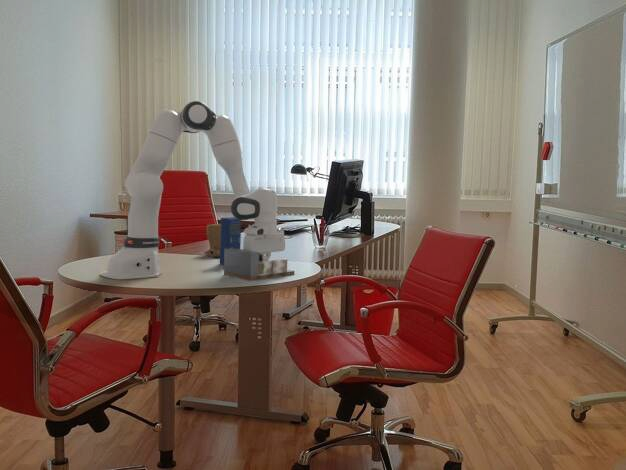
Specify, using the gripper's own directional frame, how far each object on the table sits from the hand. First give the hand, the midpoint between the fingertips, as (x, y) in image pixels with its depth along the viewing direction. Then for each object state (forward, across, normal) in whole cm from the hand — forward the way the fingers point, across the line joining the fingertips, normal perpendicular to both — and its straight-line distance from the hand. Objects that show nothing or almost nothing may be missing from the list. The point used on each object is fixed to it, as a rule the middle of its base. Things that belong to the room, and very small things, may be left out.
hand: (264, 263), depth 258 cm
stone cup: (+4, -17, -49) cm, 52 cm away
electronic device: (+4, -6, -27) cm, 28 cm away
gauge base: (+4, +3, +1) cm, 5 cm away
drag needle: (-3, +9, +7) cm, 12 cm away
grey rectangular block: (+3, +13, +1) cm, 13 cm away
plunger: (+2, +6, +1) cm, 6 cm away
